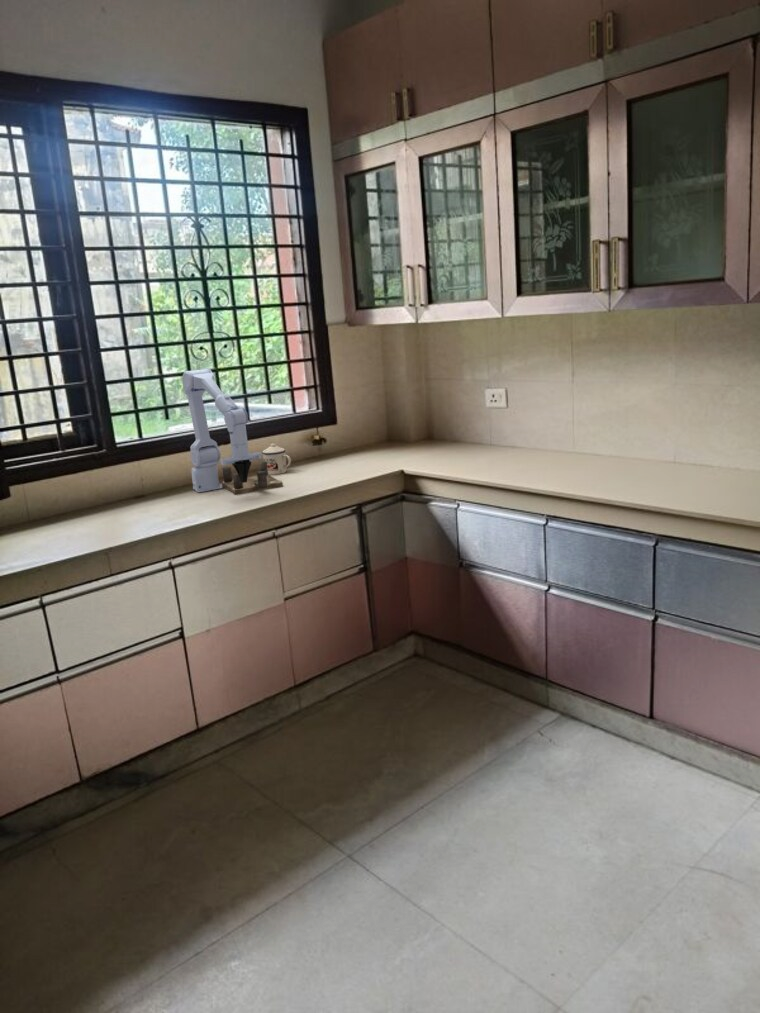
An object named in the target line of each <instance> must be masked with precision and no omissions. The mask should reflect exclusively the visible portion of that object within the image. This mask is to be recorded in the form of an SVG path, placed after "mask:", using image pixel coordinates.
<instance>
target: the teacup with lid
mask: <svg viewBox="0 0 760 1013" xmlns="http://www.w3.org/2000/svg"><path fill="white" fill-rule="evenodd" d="M262 456H263V461H266V462H267V469H268V475H270V476H275V475H283V474H285V473H287V470H288V467H289V466H291V463H292V459H291V457H290V456H289V455H288V454H286V449H285V448H284V447H280V446H278V445H277V444H276V443H270V446H268V447H267V448H266V449H264V450H263V451H262ZM286 458H287V459H286ZM287 460H288V462H287Z"/></svg>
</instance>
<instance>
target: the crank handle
mask: <svg viewBox="0 0 760 1013" xmlns="http://www.w3.org/2000/svg"><path fill="white" fill-rule="evenodd" d="M256 476H257V478H258V479H254V485H255V486H257V487H259V488H260V489H263V488H267V487H268V485H267V477H266V471H260V472H259V471H257V472H256Z"/></svg>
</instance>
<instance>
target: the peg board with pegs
mask: <svg viewBox="0 0 760 1013" xmlns="http://www.w3.org/2000/svg"><path fill="white" fill-rule="evenodd" d="M257 465H258V472H260V471H266V477H267V485H268V487H267V488H263V489H260V488H259V487H257V486H255V485H254V479H258V478H257V475H256V476H250V477H247V482H245V483H243V482H241V480H240V477H239V475H238V473H237V472H234V473H232V467H231V466H225V467H222V469H221V470H222V478H223V481H221V486H222V487H223V488H225V489H226V490H228V491H229V492H231V493H232V494H233V495H243V494H247V493H252V492H259V491H265V490H270V489H271V490H272V489H277V488H282V487H284V484H283V483H284V482H283V481H282V480H279V479H277V478H275V477H273V476H272V475H268V469H267V462H266V461H264V460H263V461H259V462H258V464H257Z"/></svg>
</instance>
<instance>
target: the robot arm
mask: <svg viewBox="0 0 760 1013" xmlns="http://www.w3.org/2000/svg"><path fill="white" fill-rule="evenodd" d="M181 383H182V387H183V390H184V391H183V392H184V394H185V395H187V397H186V398H187V402H188V406H189V411H190V416H191V421H192V428H193V433H194V437H195V441H194V442H193V443H192V444H191V445H190V447H189V448H190V460H191V462H192V464H193V465H194V467H191V469H190V472H191V479H192V480H191V481H192V489H193V490H194V491H196V492H197V493H202V492H208V491H214V490H220V489H224V487H223V486H222V485H221V484H220V479H219V471H218V464H219V462H220V465H221V466H227V465H231V464H232V466H233V468H234V469H235V471H236V473H238V475H239V477H240V480H241V482H243V483H245V482H247V478H248V477H249V476H248V475H249V472H250V468H251V465H252V460H260V459H262V454H261V452H254V453H253V452H252V453H249V452H250V450H249V443H248V434H247V428H246V427H247V426H246V425H247V423H248V421H249V414H248V412H247V411H246V410H247V409H245V408H244V407H241V406H238V405H237V404H236V403H235V402H234V400H233V399H232V398H231V397H230V395H228V394H224V393H223V391H222V390H221V389H220V387H219V385H217V382H216V381H215V374H214V373H213V371H212V370H211V368H203V369H202V368H201V369H196V370H195V369H194V370H185V371H184V372H183V374H182V377H181ZM205 392H206V393H207V394H208V395H209V396H210V397H211V398H213V400H214V401H215V402H214V405H215V407H216V408H217V409H218V412H220V413H221V415H223V417H224V418H223V420H224V423H225V425H226V429H227V431H228V433H229V439H230V448H231V455H232V456H230V457H229V456H228V457H225V458H221V457H222V456H221V451H220V448H219V445H218V443H217V441H216V440H214V439H212V438H211V436H210V432H209V431H210V430H209V426H208V421H207V420H208V419H207V415H206V414H207V413H206V410H205V405H204V399H203V395H204V393H205Z"/></svg>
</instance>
